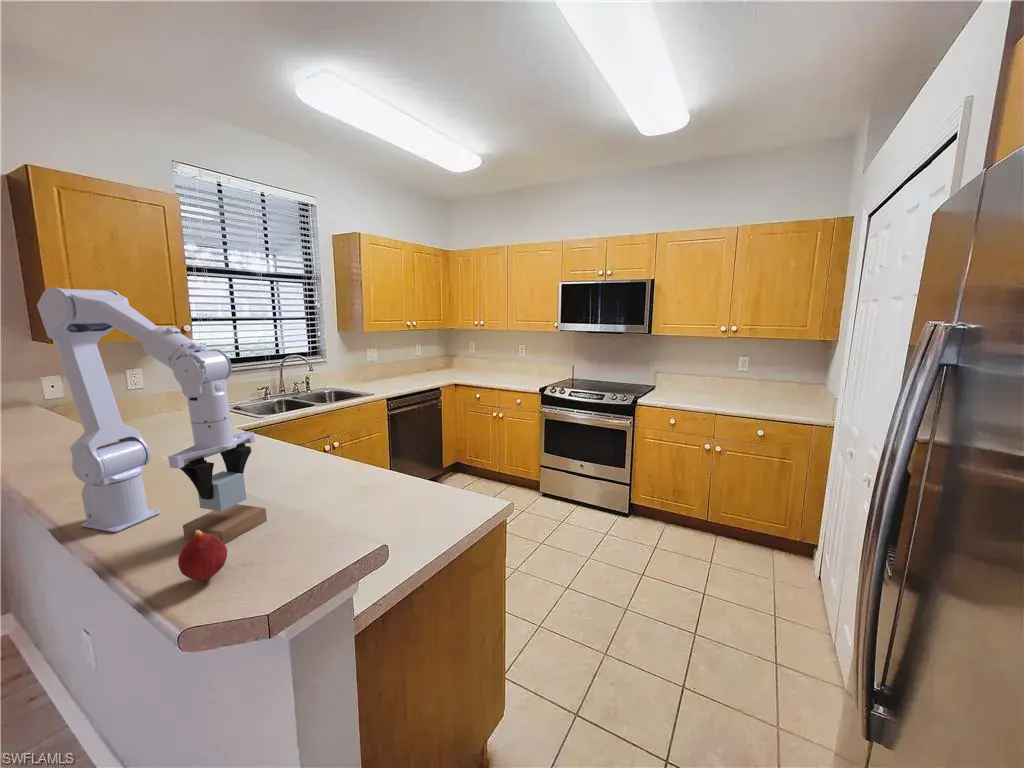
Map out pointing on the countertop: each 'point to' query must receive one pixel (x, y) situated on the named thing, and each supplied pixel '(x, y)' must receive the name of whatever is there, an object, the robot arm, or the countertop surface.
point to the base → (227, 522)
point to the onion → (202, 556)
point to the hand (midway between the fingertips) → (222, 491)
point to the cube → (225, 491)
